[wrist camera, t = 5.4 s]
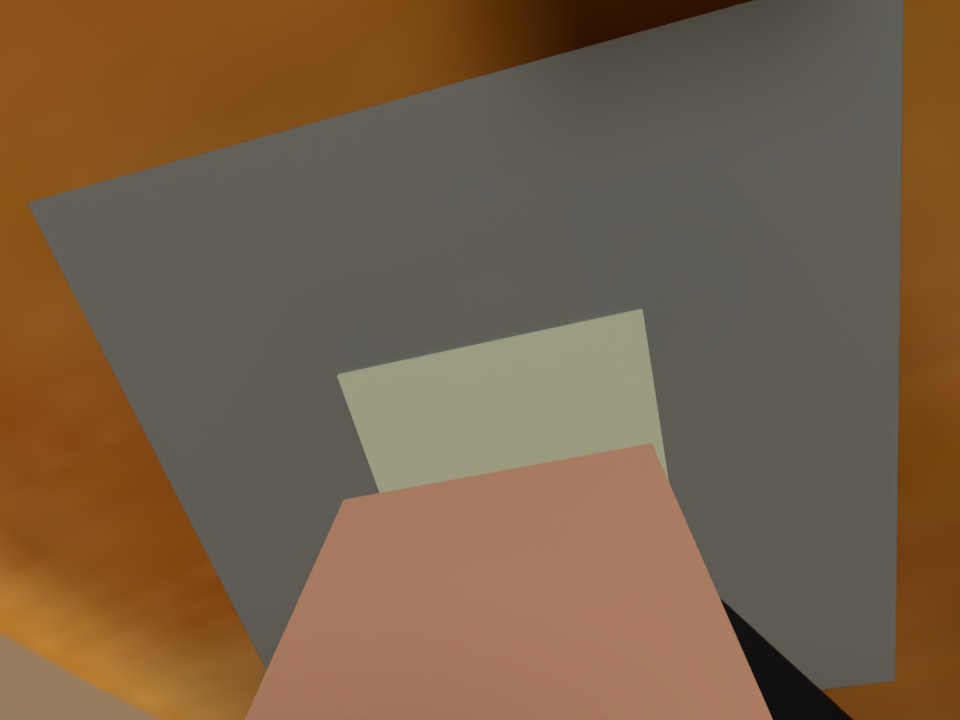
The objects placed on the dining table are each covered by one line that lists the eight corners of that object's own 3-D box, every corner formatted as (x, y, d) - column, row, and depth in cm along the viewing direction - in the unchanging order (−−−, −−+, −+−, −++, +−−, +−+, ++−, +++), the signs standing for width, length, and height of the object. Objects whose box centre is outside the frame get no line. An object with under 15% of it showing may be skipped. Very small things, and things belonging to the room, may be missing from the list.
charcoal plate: (850, -19, 10) (908, -44, 9) (859, 629, 15) (897, 684, 14) (82, 193, 12) (23, 203, 11) (325, 702, 17) (307, 756, 16)
